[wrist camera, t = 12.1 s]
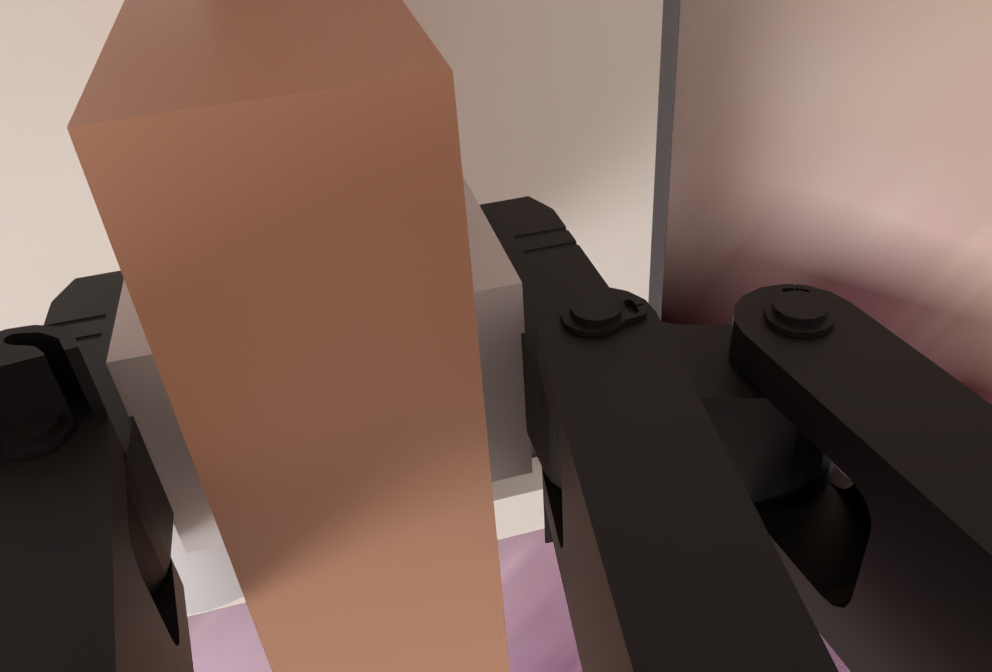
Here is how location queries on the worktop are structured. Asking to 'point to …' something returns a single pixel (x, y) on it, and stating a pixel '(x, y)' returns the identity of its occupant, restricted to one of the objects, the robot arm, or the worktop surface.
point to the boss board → (213, 572)
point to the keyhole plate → (327, 267)
